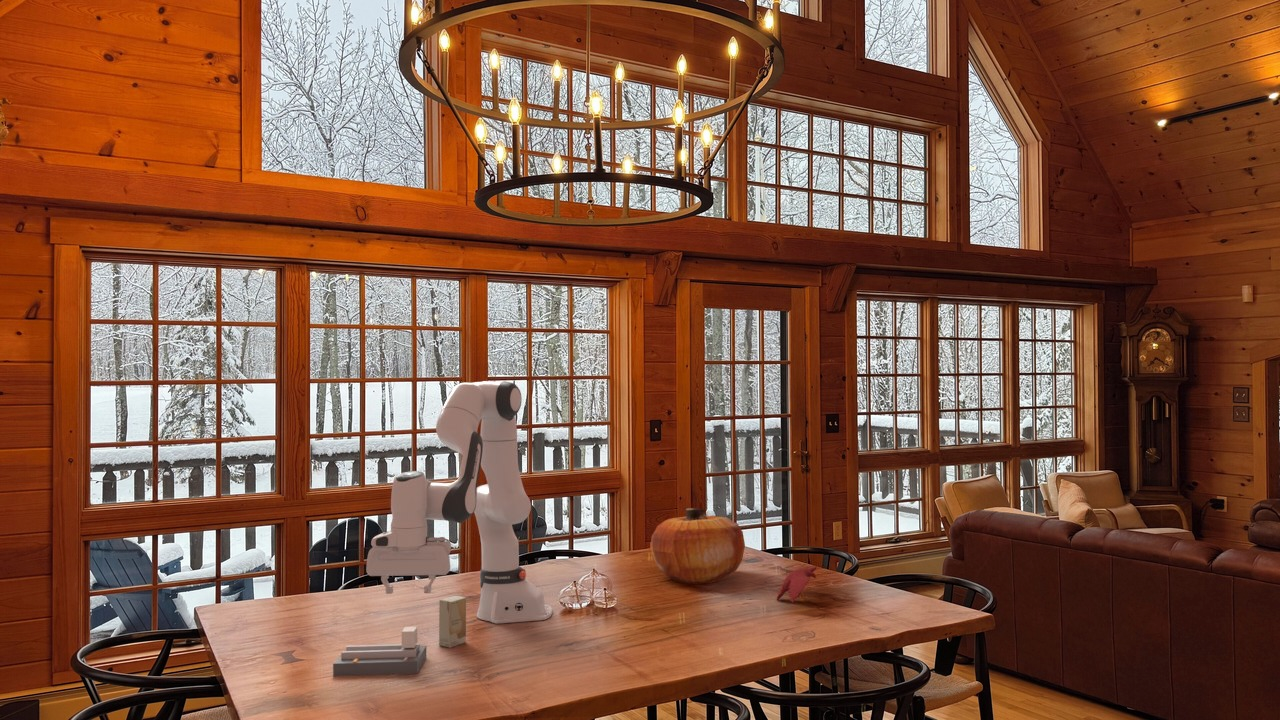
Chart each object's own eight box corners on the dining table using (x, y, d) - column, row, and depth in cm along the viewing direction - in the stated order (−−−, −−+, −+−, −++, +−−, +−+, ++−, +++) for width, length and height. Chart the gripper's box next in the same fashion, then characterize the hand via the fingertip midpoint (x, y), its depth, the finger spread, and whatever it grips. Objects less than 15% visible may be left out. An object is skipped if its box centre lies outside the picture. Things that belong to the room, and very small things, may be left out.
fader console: (426, 657, 222) (426, 639, 222) (417, 673, 210) (416, 654, 210) (347, 659, 221) (347, 641, 221) (333, 676, 209) (333, 657, 209)
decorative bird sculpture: (784, 627, 260) (818, 593, 257) (761, 604, 262) (795, 570, 259) (798, 603, 287) (829, 572, 283) (777, 583, 289) (808, 551, 286)
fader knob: (419, 649, 218) (419, 626, 218) (416, 654, 214) (416, 631, 214) (403, 650, 218) (403, 627, 218) (399, 655, 214) (399, 631, 214)
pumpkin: (658, 567, 324) (654, 501, 324) (747, 565, 320) (743, 498, 319) (647, 594, 292) (642, 520, 291) (746, 591, 287) (741, 517, 286)
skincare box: (450, 648, 229) (449, 602, 229) (438, 645, 231) (438, 600, 232) (467, 642, 235) (466, 596, 235) (455, 639, 237) (455, 594, 237)
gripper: (452, 534, 220) (452, 589, 219) (371, 535, 219) (370, 590, 218) (448, 539, 214) (448, 595, 213) (364, 540, 212) (364, 596, 212)
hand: (408, 593), depth 216 cm, fingers open, 8 cm apart
